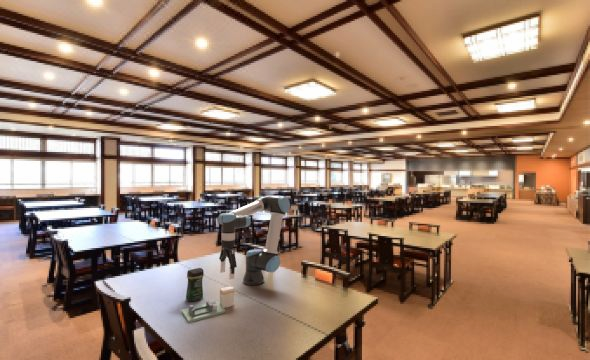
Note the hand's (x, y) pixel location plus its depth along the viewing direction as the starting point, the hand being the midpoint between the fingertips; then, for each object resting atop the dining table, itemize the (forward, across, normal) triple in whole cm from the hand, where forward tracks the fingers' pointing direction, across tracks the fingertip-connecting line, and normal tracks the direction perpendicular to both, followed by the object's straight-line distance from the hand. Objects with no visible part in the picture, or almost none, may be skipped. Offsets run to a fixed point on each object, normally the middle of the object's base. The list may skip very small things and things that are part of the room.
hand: (227, 275), depth 161 cm
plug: (+18, 0, 0) cm, 18 cm away
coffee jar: (+18, -19, -13) cm, 29 cm away
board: (+18, +1, -14) cm, 22 cm away
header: (+17, +2, -16) cm, 23 cm away
